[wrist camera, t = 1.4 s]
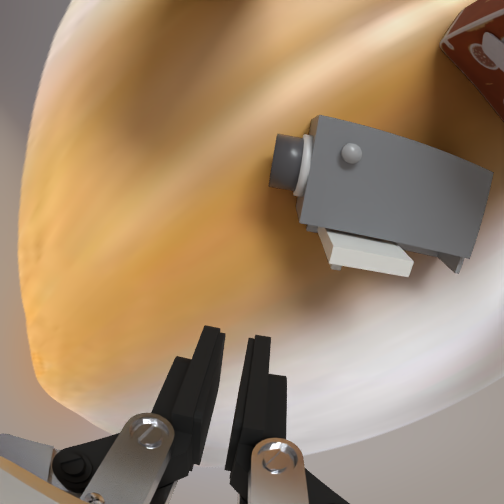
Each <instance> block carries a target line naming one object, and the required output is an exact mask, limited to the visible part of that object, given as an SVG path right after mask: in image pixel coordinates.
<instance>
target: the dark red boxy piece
mask: <svg viewBox="0 0 504 504" xmlns="http://www.w3.org/2000/svg"><path fill="white" fill-rule="evenodd" d="M440 48H441V49H442V51H443V52H444V53H445V54H446V55H447V56H448V57H449V58H450V59H451V60H452V62H453V63H454V64H455V65H456V66H457V67H458V68H459V69H460V70H461V71H462V72H463V73H464V74H465V75H466V76H467V78H468V79H469V80H470V81H471V82H472V83H473V84H474V85H475V87H476V88H477V89H478V90H479V91H480V92H481V94H482V95H483V96H484V97H485V99H486V100H487V101H488V102H489V104H490V105H491V106H492V107H493V109H494V110H495V111H496V113H497V114H498V115H499V116H500V118H501V119H502V120H503V121H504V0H477V1H476V2H474V3H472V4H471V5H469V6H467V7H466V8H464V9H463V10H462V11H461V12H460V13H459V14H458V15H457V17H456V18H455V20H454V21H453V23H452V24H451V26H450V27H449V29H448V30H447V32H446V33H445V35H444V36H443V38H442V39H441V42H440Z"/></svg>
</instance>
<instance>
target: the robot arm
mask: <svg viewBox="0 0 504 504" xmlns="http://www.w3.org/2000/svg"><path fill="white" fill-rule="evenodd" d="M224 342H225V333H220V328H216V327H211V326H206V325H205V326H204V328H203V331H202V334H201V336H200V339H199V341H198V344H197V347H196V349H195V352H194V354H193V357H192V359H187V358H183V357H179V356H177V357H176V358H175V360H174V362H173V364H172V366H171V369H170V371H169V373H168V375H167V378H166V380H165V382H164V384H163V387H162V389H161V391H160V394H159V396H158V398H157V400H156V403H155V405H154V407H153V410H152V412H151V413H142V414H138V415H135V416H134V417H132V418H130V419H129V420H128V422H127V423H126V424H125V426H124V427H123V429H122V431H121V432H120V433H118V434H115V435H112V436H109V437H105V438H102V439H99V440H95V441H91V442H88V443H84V444H81V445H77V446H73V447H69V448H65V449H63V450H57V449H55V448H54V447H53V446H50V445H46V444H41V443H38V442H34V441H30V440H26V439H23V438H19V437H16V436H13V435H10V434H0V504H169V501H170V499H171V497H172V494H173V492H174V489H175V487H176V485H177V482H178V480H179V479H181V478H184V477H186V476H188V473H189V471H192V469H193V465H194V464H197V465H200V462H201V458H202V454H203V450H204V446H205V442H206V438H207V434H208V429H209V425H210V421H211V417H212V413H213V409H214V405H215V401H216V397H217V393H218V388H219V382H220V374H221V366H222V358H223V350H224ZM270 344H271V337H266V336H260V335H255V339H253V338H249V339H248V345H247V350H246V355H245V361H244V366H243V371H242V376H241V382H240V387H239V392H238V398H237V403H236V409H235V415H234V420H233V426H232V432H231V437H230V443H229V448H228V454H227V459H226V465H225V470H228V471H231V473H230V485H231V486H232V487H233V488H234V489H235V490H236V491H237V492H238V504H349V503H348V502H347V501H345V500H344V499H343V498H341V497H340V496H339V495H338V494H336V493H335V492H334V491H332V490H331V489H330V488H329V487H327V486H326V485H325V484H324V483H322V482H321V481H320V480H319V479H317V478H316V477H315V476H314V475H312V474H311V473H310V472H309V471H308V470H307V469H305V467H304V460H303V455H302V452H301V451H300V449H299V448H298V447H297V446H296V445H295V444H294V443H292V442H291V441H288V440H286V414H287V378H286V376H280V375H273V374H268V373H269V359H270Z"/></svg>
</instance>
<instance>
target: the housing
mask: <svg viewBox="0 0 504 504" xmlns="http://www.w3.org/2000/svg"><path fill="white" fill-rule="evenodd" d="M493 173H494V172H491V171H489V170H487V169H485V168H483V167H480V166H478V165H476V164H474V163H471V162H469V161H467V160H464V159H462V158H459V157H457V156H454V155H452V154H449V153H447V152H444V151H442V150H439V149H436V148H434V147H431V146H428V145H425V144H422V143H420V142H417V141H414V140H411V139H408V138H405V137H401V136H398V135H395V134H392V133H389V132H385V131H382V130H378V129H375V128H371V127H368V126H364V125H360V124H356V123H352V122H348V121H344V120H340V119H336V118H331V117H327V116H322V115H318V116H316V117H315V118H313V119H312V120H311V126H310V132H309V135H307V134H304V135H303V138H299V137H293V136H288V135H282V134H277V138H276V144H275V150H274V156H273V162H272V168H271V174H270V180H269V187H274V188H279V189H285V190H291V191H293V195H294V196H298V198H297V203H296V210H297V214H298V219H299V223H302V224H307V227H306V230H307V231H310V232H316V233H318V231H317V230H318V226H319V227H324V228H329V229H334V230H339V231H344V232H349V233H355V234H359V235H364V236H369V237H374V238H379V239H384V240H388V241H393V242H396V243H397V244H398V245H399V246H400V247H401V248H402V250H407V251H411V252H416V253H421V254H425V255H430V256H435V257H438V258H439V259H440V260H441V261H443V262H444V263H445V264H446V265H447V266H448V267H449V268H450V269H451V270H452V271H453V272H454V273H457V274H459V272H460V269H461V267H462V264H463V261H464V258H468V259H470V256H471V254H472V251H473V248H474V245H475V242H476V238H477V235H478V232H479V229H480V225H481V222H482V218H483V215H484V211H485V207H486V204H487V200H488V195H489V191H490V187H491V182H492V178H493Z"/></svg>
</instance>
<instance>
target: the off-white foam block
mask: <svg viewBox="0 0 504 504" xmlns="http://www.w3.org/2000/svg"><path fill="white" fill-rule="evenodd" d="M317 231H318V234H319V237H320V240H321V242H322V245H323V248H324V251H325V253H326V256H327V259H328V262H329V265H330V268H331V269H334V270H341V267H342V266H347V267H353V268H358V269H364V270H370V271H376V272H381V273H387V274H393V275H398V276H404V277H409V274H410V272H411V269H412V266H413V263H414V261H413V260H412V259H411V258H410V257H409V256H408V255H407V254H406V253H405V252H404V251H403V250H402V248H401V247H400V246H399V245H398V244H397V243H396V242H393V241H388V240H384V239H379V238H374V237H369V236H364V235H359V234H355V233H349V232H344V231H339V230H334V229H329V228H324V227H319V226H318V230H317Z"/></svg>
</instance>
